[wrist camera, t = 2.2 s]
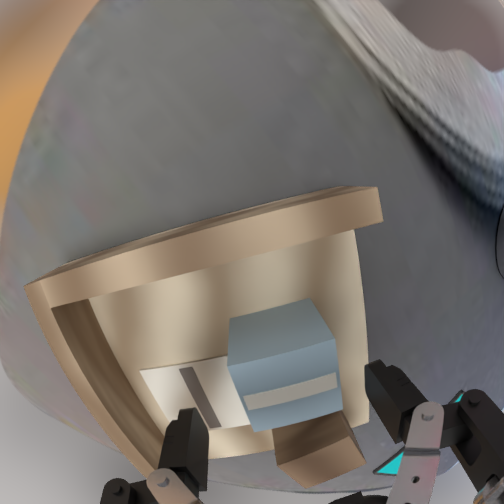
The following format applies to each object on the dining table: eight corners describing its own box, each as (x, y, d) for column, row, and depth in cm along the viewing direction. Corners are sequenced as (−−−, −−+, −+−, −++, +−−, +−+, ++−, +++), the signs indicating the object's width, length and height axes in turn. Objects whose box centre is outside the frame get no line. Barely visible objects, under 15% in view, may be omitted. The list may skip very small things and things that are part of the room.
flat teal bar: (372, 474, 24) (462, 391, 21) (370, 469, 25) (459, 387, 22) (400, 476, 25) (479, 403, 23) (398, 472, 26) (475, 399, 23)
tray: (338, 186, 16) (377, 186, 11) (364, 413, 21) (384, 452, 16) (67, 262, 17) (23, 286, 12) (169, 452, 21) (161, 492, 16)
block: (309, 297, 17) (335, 339, 12) (321, 361, 18) (343, 410, 13) (229, 318, 17) (227, 367, 12) (250, 379, 18) (254, 433, 13)
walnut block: (329, 389, 18) (349, 436, 14) (348, 421, 20) (366, 463, 15) (269, 416, 19) (276, 465, 14) (295, 444, 20) (305, 488, 15)
